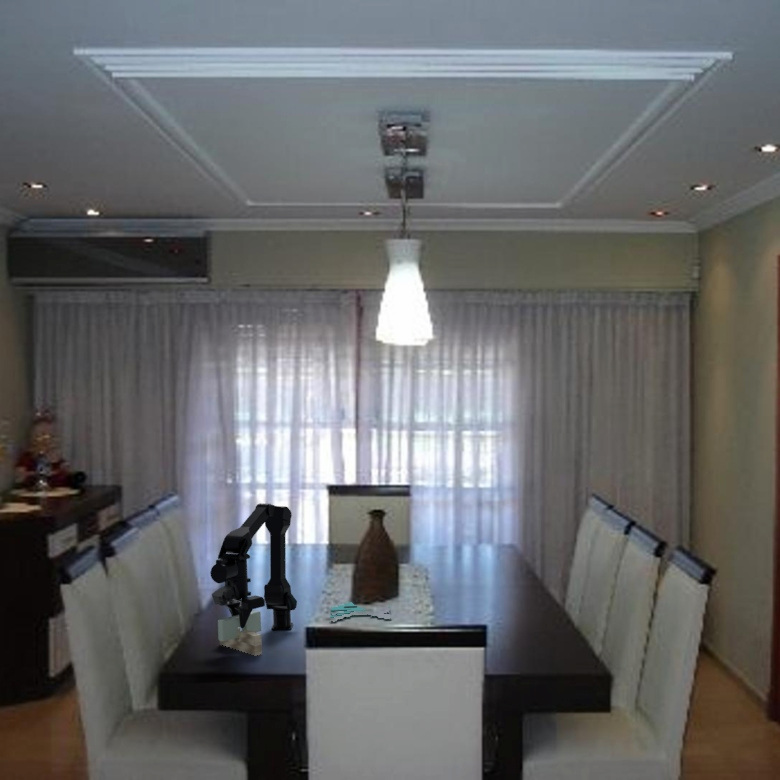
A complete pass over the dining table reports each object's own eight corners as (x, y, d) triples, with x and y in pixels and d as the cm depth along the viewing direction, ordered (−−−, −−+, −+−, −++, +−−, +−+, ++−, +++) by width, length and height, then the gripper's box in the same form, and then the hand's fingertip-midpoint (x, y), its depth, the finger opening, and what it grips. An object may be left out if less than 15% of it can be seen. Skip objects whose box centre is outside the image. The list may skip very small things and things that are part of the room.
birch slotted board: (220, 644, 299) (219, 625, 299) (226, 643, 301) (225, 623, 300) (255, 656, 286) (254, 635, 286) (262, 654, 288) (261, 634, 288)
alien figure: (390, 621, 322) (388, 606, 341) (390, 614, 321) (388, 599, 341) (330, 623, 321) (331, 608, 341) (330, 617, 321) (331, 602, 341)
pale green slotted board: (223, 641, 288) (222, 621, 287) (218, 640, 289) (217, 620, 289) (261, 631, 297) (260, 611, 297) (256, 629, 299) (255, 610, 299)
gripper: (197, 576, 294) (199, 627, 294) (234, 585, 280) (236, 638, 281) (228, 570, 302) (230, 619, 302) (265, 578, 288) (267, 630, 289)
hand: (239, 627), depth 293 cm, fingers closed on pale green slotted board, 2 cm apart
